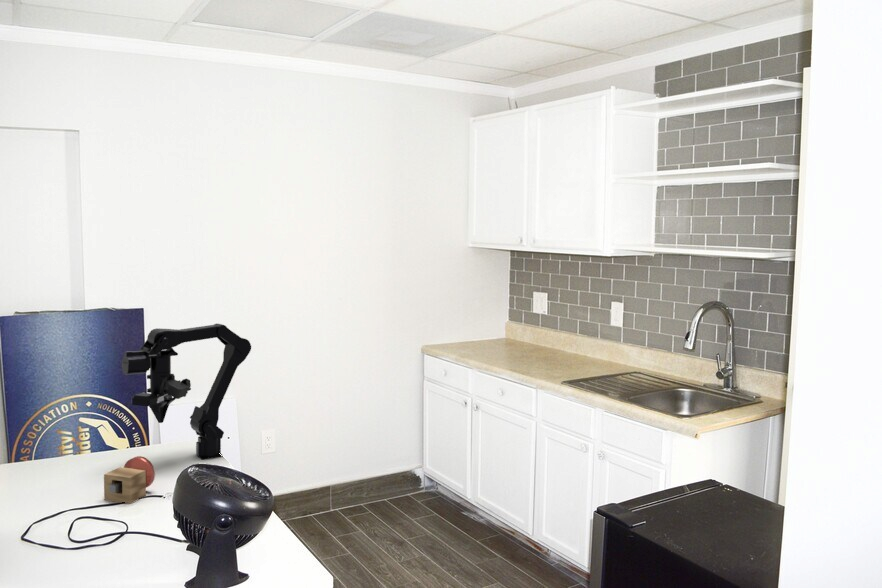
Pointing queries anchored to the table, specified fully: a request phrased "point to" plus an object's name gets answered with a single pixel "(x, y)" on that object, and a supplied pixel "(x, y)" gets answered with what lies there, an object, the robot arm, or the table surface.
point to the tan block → (125, 484)
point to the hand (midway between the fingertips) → (160, 422)
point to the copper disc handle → (139, 464)
